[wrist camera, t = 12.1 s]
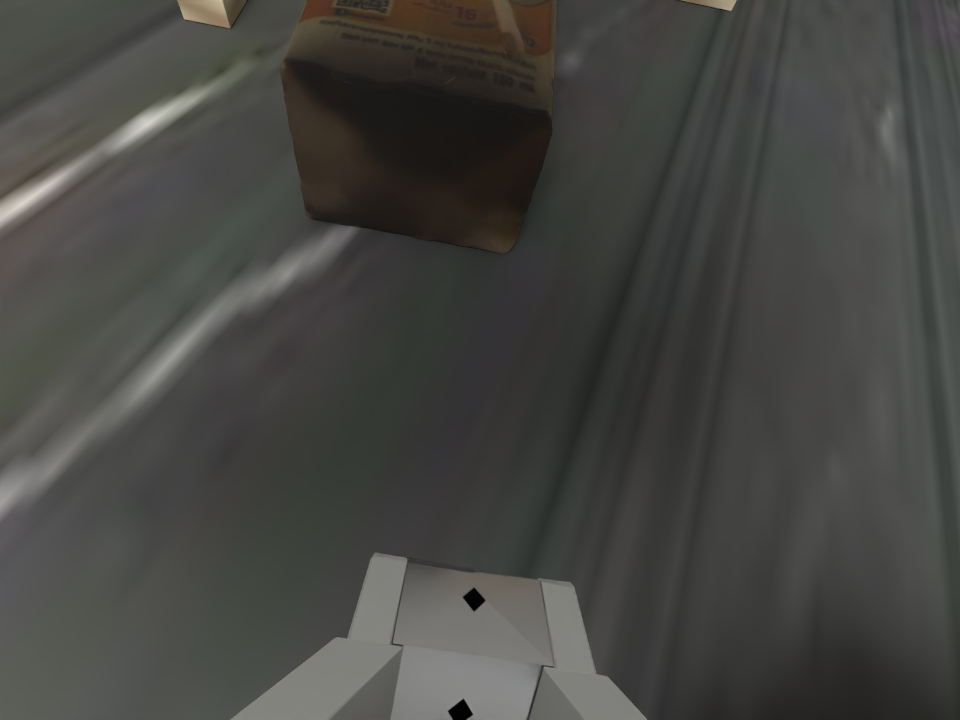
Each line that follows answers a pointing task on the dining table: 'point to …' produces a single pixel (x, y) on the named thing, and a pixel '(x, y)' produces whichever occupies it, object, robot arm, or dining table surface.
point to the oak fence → (223, 3)
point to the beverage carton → (422, 114)
